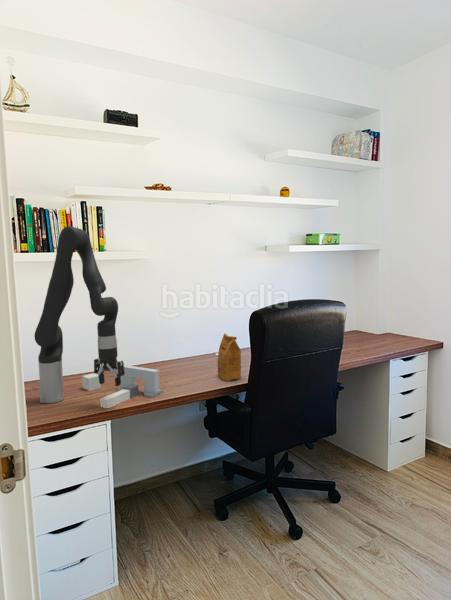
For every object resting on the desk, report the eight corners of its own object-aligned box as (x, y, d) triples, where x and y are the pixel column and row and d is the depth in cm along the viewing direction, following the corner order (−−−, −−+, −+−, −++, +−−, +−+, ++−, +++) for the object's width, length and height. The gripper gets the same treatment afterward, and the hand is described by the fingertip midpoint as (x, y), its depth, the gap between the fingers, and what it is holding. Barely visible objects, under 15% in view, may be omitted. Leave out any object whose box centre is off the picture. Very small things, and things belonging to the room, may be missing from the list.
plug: (107, 408, 170) (107, 398, 170) (99, 407, 172) (99, 396, 172) (138, 395, 187) (138, 385, 186) (130, 393, 189) (130, 384, 188)
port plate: (151, 397, 183) (151, 373, 181) (117, 391, 192) (116, 367, 191) (162, 392, 190) (162, 368, 188) (128, 386, 199) (128, 363, 198)
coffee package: (232, 373, 219) (232, 331, 217) (243, 379, 208) (243, 336, 205) (214, 376, 215) (214, 333, 212) (225, 382, 203) (224, 337, 201)
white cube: (82, 388, 197) (82, 375, 196) (94, 385, 201) (93, 373, 201) (89, 391, 193) (88, 378, 192) (100, 388, 197) (100, 375, 197)
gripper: (127, 345, 172) (129, 384, 173) (100, 343, 178) (103, 380, 180) (114, 349, 165) (117, 389, 167) (87, 346, 171) (90, 385, 173)
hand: (109, 384), depth 173 cm, fingers open, 8 cm apart
